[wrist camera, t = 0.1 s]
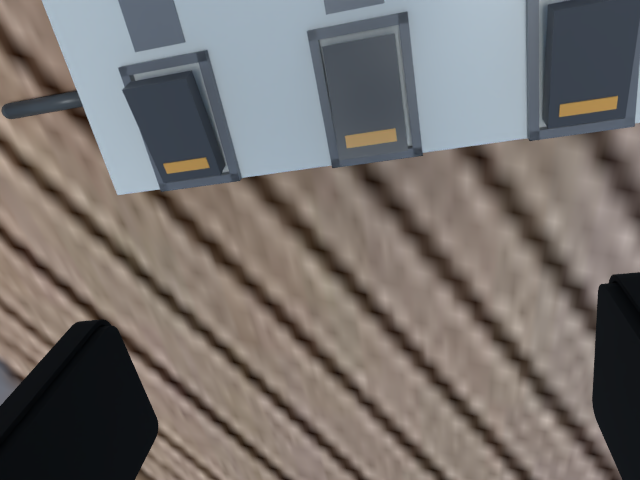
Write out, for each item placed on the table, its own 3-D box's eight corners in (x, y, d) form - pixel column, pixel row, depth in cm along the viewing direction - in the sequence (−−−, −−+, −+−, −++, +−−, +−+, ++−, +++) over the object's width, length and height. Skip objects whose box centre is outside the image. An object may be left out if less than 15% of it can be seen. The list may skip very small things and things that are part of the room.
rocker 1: (130, 81, 35) (121, 90, 33) (191, 70, 34) (185, 78, 33) (169, 172, 39) (163, 183, 38) (225, 164, 38) (220, 175, 37)
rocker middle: (325, 47, 33) (321, 46, 32) (394, 34, 32) (394, 33, 31) (341, 156, 35) (339, 160, 34) (408, 147, 34) (407, 150, 33)
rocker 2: (547, 4, 29) (554, 11, 28) (633, -12, 29) (644, -5, 27) (542, 118, 34) (548, 129, 32) (617, 108, 33) (625, 118, 32)
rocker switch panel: (-33, 18, 39) (-82, 25, 35) (696, -147, 30) (743, -164, 26) (44, 190, 46) (10, 212, 42) (670, 99, 36) (704, 116, 32)
